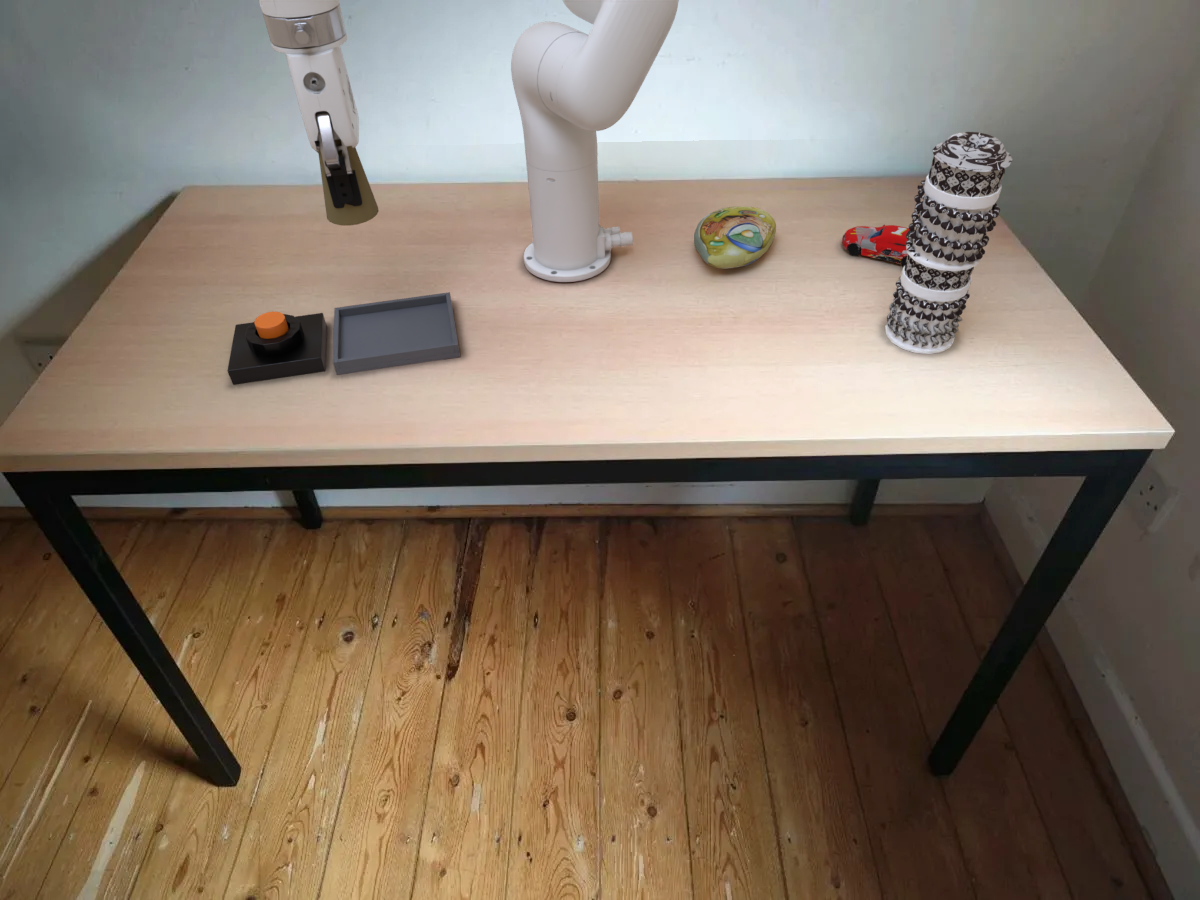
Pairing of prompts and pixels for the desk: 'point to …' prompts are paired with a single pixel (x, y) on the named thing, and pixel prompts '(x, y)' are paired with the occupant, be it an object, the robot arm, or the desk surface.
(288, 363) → the control block
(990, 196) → the black white cylinder
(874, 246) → the race car
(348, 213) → the olive rounded lobed piece
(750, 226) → the cell model
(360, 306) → the tray
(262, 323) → the button
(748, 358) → the desk surface
